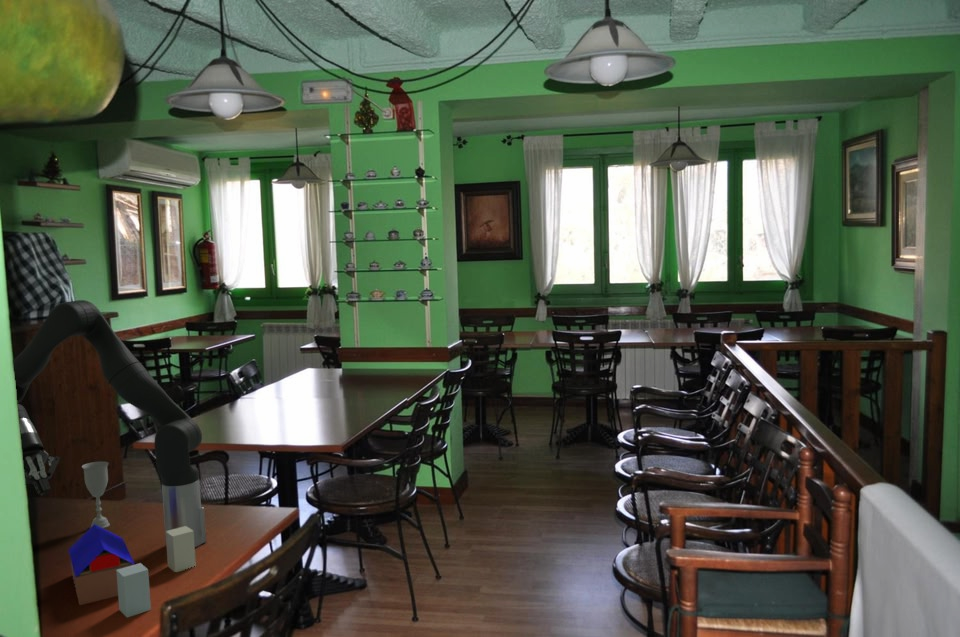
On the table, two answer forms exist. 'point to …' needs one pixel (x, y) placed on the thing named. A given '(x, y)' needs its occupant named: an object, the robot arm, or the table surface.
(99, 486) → the chalice
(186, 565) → the cream block
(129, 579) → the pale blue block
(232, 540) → the table surface
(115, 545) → the house
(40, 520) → the table surface
